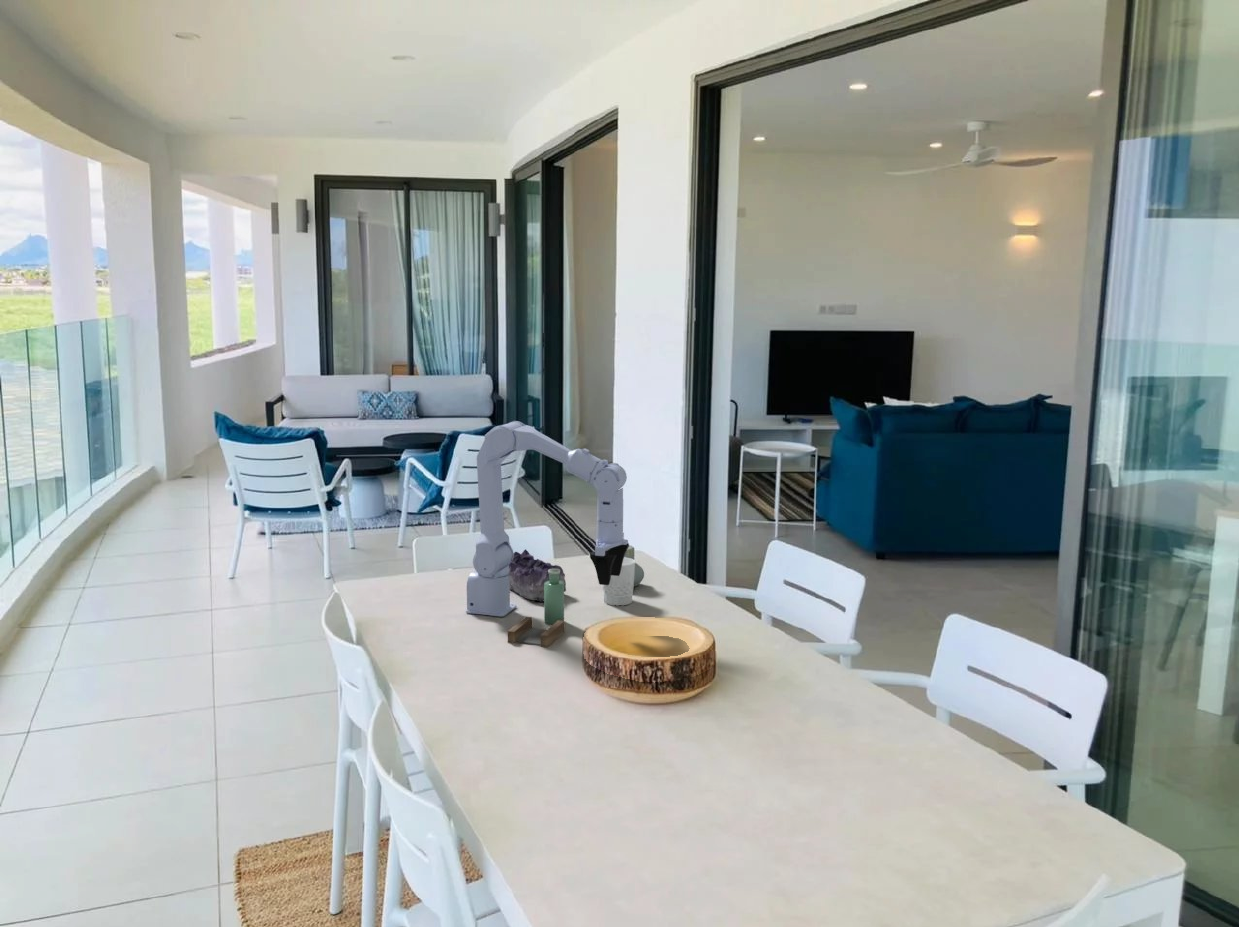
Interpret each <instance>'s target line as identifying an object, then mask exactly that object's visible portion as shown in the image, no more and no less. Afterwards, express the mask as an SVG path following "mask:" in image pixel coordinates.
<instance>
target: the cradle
mask: <svg viewBox="0 0 1239 927" xmlns="http://www.w3.org/2000/svg"><path fill="white" fill-rule="evenodd" d="M564 633H565V620H564V621H560V620H558V621H557V622H555V623H554V624H553V625H550V626H549V627H548V628H547V629H546V628H545V629H544V628H538V627H533V617H532V616H525V617H523V618H522V619H521V620H519V622H517V623H516V624H515V625H513V626H512V627H511V628H509V629H508V630H507V643H509V644H516V643H518V644H523V645H524V644H525V645H534V646H540V647H542V648H548V647H550V646H551V645H552V644H553V643H554V642H555V641H556V640H558V639H559V638H560V637H561V636H562V635H563V634H564Z"/></svg>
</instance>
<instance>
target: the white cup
mask: <svg viewBox="0 0 1239 927" xmlns="http://www.w3.org/2000/svg"><path fill="white" fill-rule="evenodd" d="M635 563H636V560H635V559H634V560H633V559H631V558H626V557H624V559H623V563H622V568H621V572H620V575H619V576H614V575H611V579H610V583H609V585H602V587H603V588H602V590H603V601H604V603H605V604H606V605H610V606H615V605H616V607H617V606H618V607H619V605H622V606H628V605H630V604H633V592H634V587H635V586H634V573H635Z"/></svg>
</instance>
